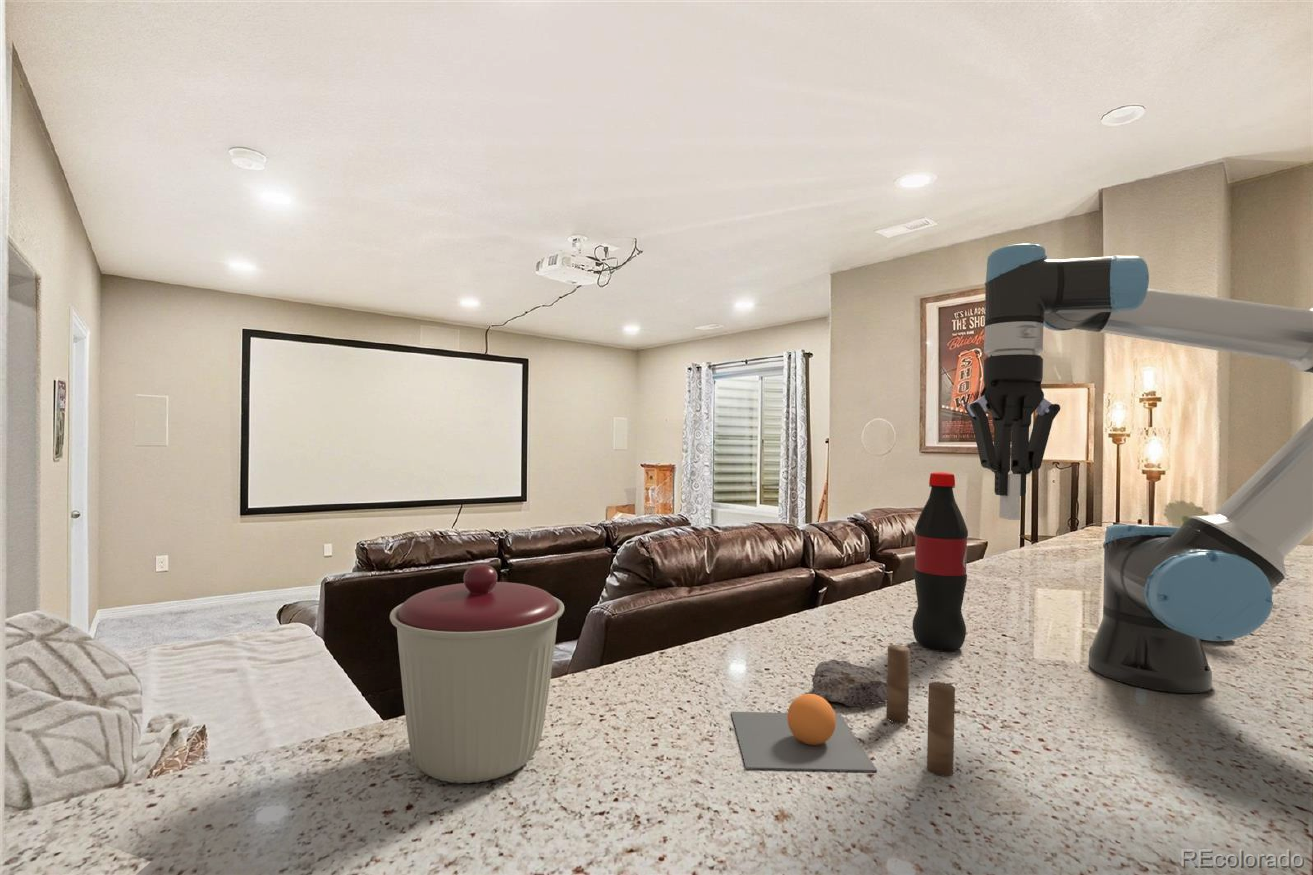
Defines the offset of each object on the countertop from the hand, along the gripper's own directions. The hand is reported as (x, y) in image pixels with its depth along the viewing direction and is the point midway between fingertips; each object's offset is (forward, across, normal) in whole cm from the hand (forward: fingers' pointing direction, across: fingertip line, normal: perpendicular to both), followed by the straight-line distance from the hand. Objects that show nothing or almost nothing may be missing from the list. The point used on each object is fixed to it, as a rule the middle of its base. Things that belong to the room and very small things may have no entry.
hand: (1009, 518), depth 94 cm
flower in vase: (+25, +50, +29) cm, 63 cm away
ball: (+22, -33, -19) cm, 43 cm away
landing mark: (+24, -34, -18) cm, 46 cm away
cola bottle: (+25, -2, +18) cm, 31 cm away
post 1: (+24, -20, -12) cm, 34 cm away
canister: (+25, -70, -24) cm, 78 cm away
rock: (+25, -24, -4) cm, 35 cm away
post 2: (+24, -20, -24) cm, 40 cm away
